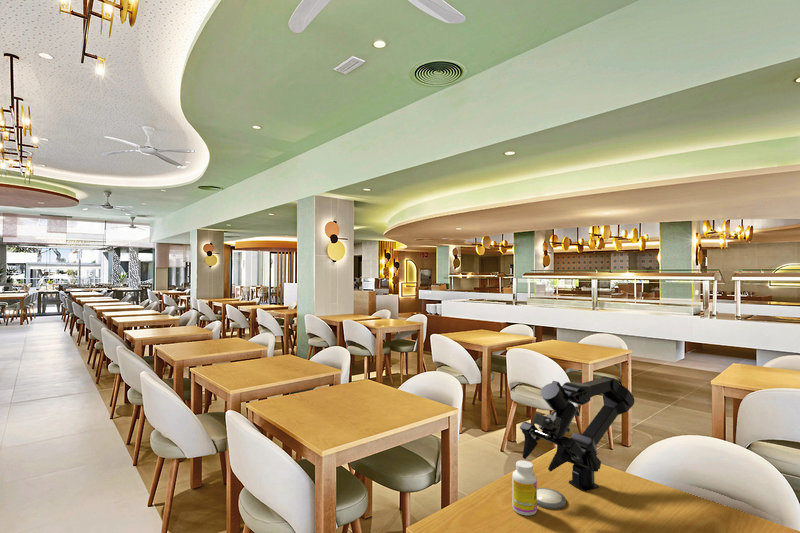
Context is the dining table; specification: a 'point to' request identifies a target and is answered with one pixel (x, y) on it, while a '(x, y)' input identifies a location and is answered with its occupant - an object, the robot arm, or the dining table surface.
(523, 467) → the supplement bottle
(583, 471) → the robot arm
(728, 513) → the dining table surface
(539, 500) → the push button
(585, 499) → the dining table surface
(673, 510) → the dining table surface
